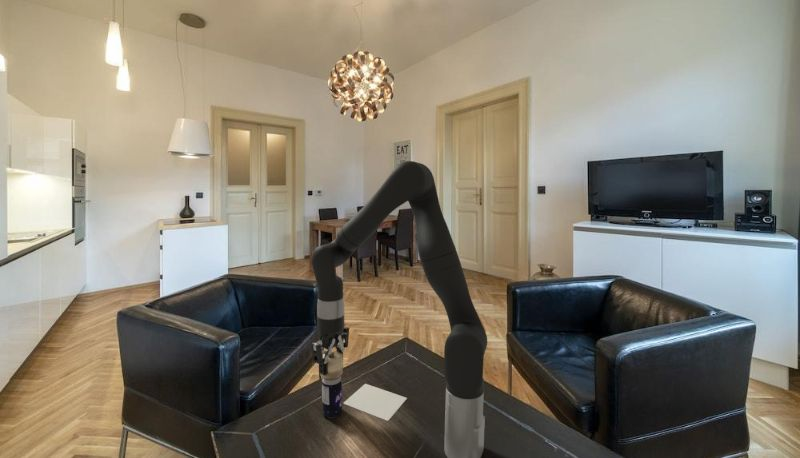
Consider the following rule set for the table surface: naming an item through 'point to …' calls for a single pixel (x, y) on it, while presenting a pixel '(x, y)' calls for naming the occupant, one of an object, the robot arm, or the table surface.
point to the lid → (334, 365)
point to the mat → (375, 401)
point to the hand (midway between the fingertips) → (331, 368)
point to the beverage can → (332, 397)
